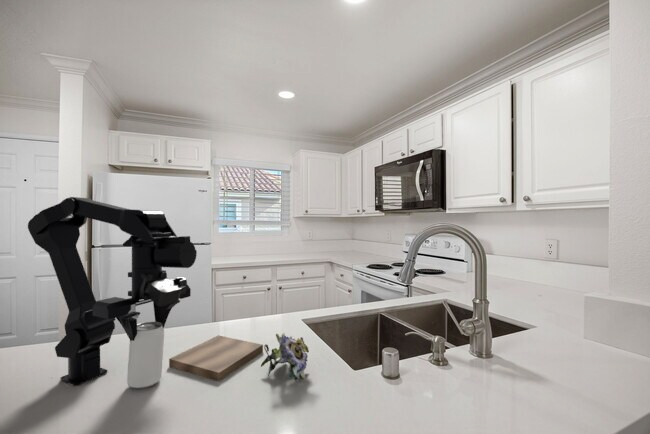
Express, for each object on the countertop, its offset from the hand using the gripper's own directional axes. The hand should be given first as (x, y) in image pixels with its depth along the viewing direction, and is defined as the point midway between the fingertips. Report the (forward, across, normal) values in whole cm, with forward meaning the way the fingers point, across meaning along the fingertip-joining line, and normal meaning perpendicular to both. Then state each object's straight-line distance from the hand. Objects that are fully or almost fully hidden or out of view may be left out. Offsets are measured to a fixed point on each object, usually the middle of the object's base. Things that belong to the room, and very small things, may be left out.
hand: (147, 337), depth 65 cm
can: (+10, -1, 0) cm, 10 cm away
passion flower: (+10, +15, -26) cm, 32 cm away
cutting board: (+10, +15, -6) cm, 19 cm away
